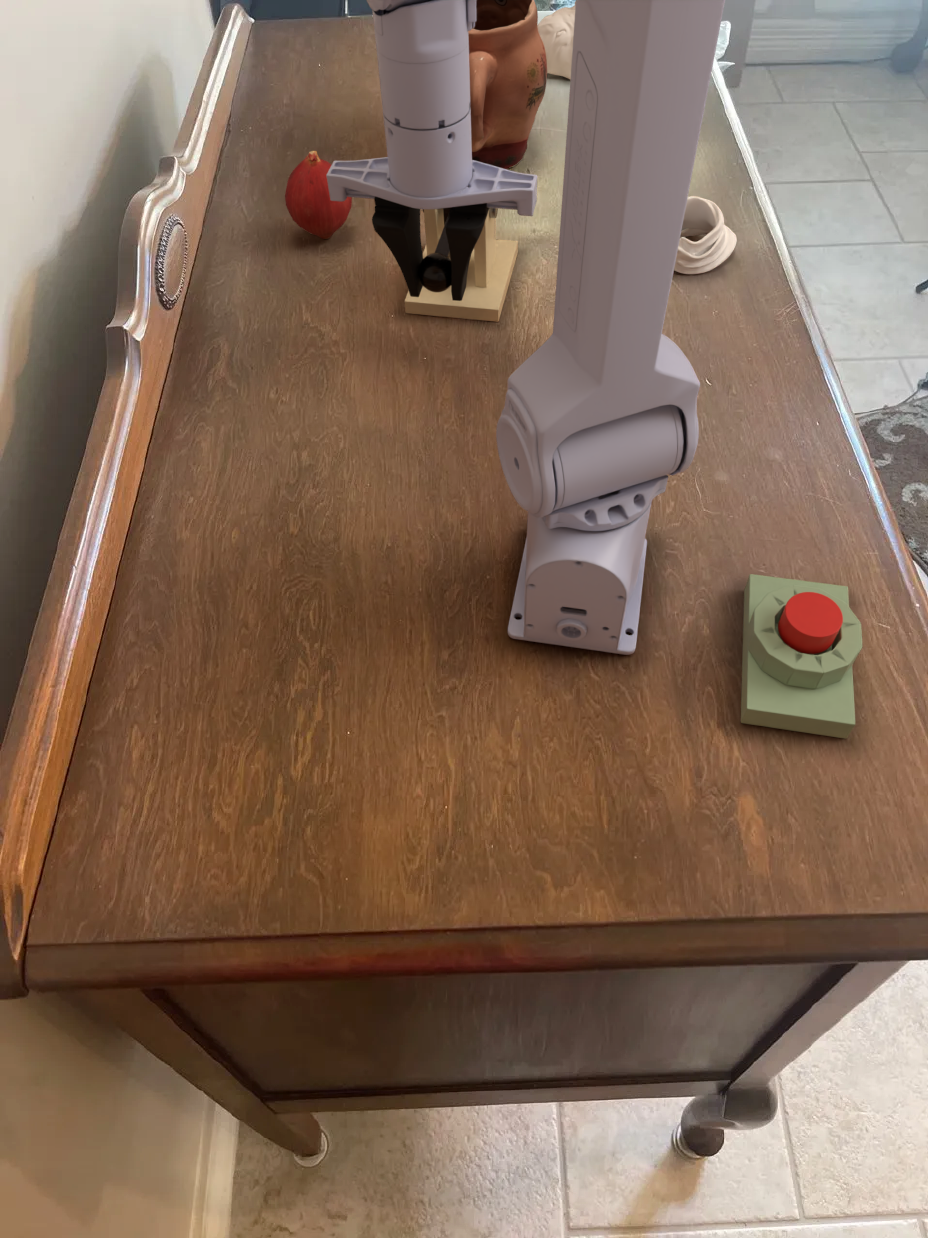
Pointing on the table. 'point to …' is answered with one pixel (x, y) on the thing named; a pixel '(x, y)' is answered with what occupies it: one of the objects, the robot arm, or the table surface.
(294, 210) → the red squash
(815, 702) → the button block
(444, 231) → the lever
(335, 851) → the table surface
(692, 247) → the beige draped scarf
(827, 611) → the button
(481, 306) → the beige wooden stand
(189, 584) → the table surface
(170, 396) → the table surface
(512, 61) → the decorative planter
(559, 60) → the bust
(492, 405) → the table surface
